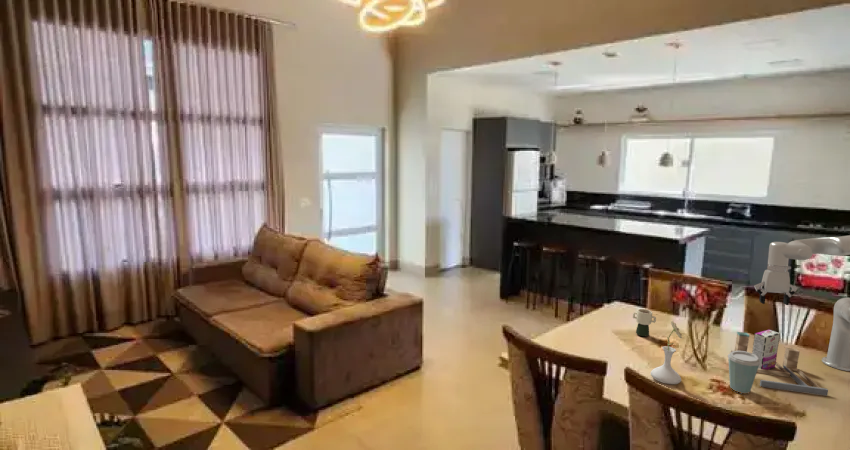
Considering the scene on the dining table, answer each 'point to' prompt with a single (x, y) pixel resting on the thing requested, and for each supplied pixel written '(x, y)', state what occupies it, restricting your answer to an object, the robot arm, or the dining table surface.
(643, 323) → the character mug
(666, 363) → the flower in vase
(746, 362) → the disposable coffee cup
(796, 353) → the sled
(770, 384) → the lane rails
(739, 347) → the sled
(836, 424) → the dining table surface
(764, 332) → the candy bar box
